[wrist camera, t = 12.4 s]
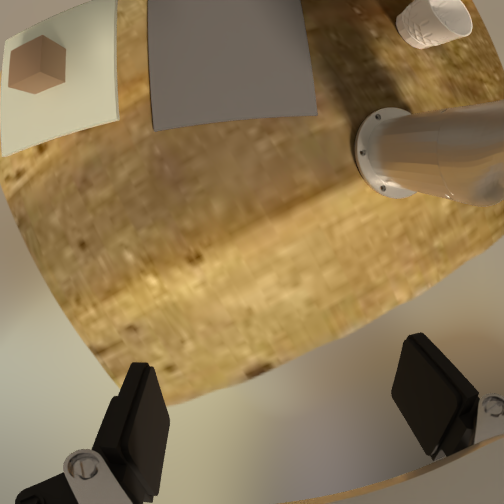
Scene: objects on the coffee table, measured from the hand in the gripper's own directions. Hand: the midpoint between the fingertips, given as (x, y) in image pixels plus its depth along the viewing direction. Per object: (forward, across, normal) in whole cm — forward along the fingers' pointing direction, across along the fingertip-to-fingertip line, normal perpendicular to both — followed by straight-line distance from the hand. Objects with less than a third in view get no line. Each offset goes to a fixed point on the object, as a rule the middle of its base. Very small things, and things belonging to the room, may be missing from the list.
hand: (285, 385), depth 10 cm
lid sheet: (+20, +20, -20) cm, 34 cm away
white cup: (+30, -27, -29) cm, 50 cm away
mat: (+30, +1, -23) cm, 37 cm away
